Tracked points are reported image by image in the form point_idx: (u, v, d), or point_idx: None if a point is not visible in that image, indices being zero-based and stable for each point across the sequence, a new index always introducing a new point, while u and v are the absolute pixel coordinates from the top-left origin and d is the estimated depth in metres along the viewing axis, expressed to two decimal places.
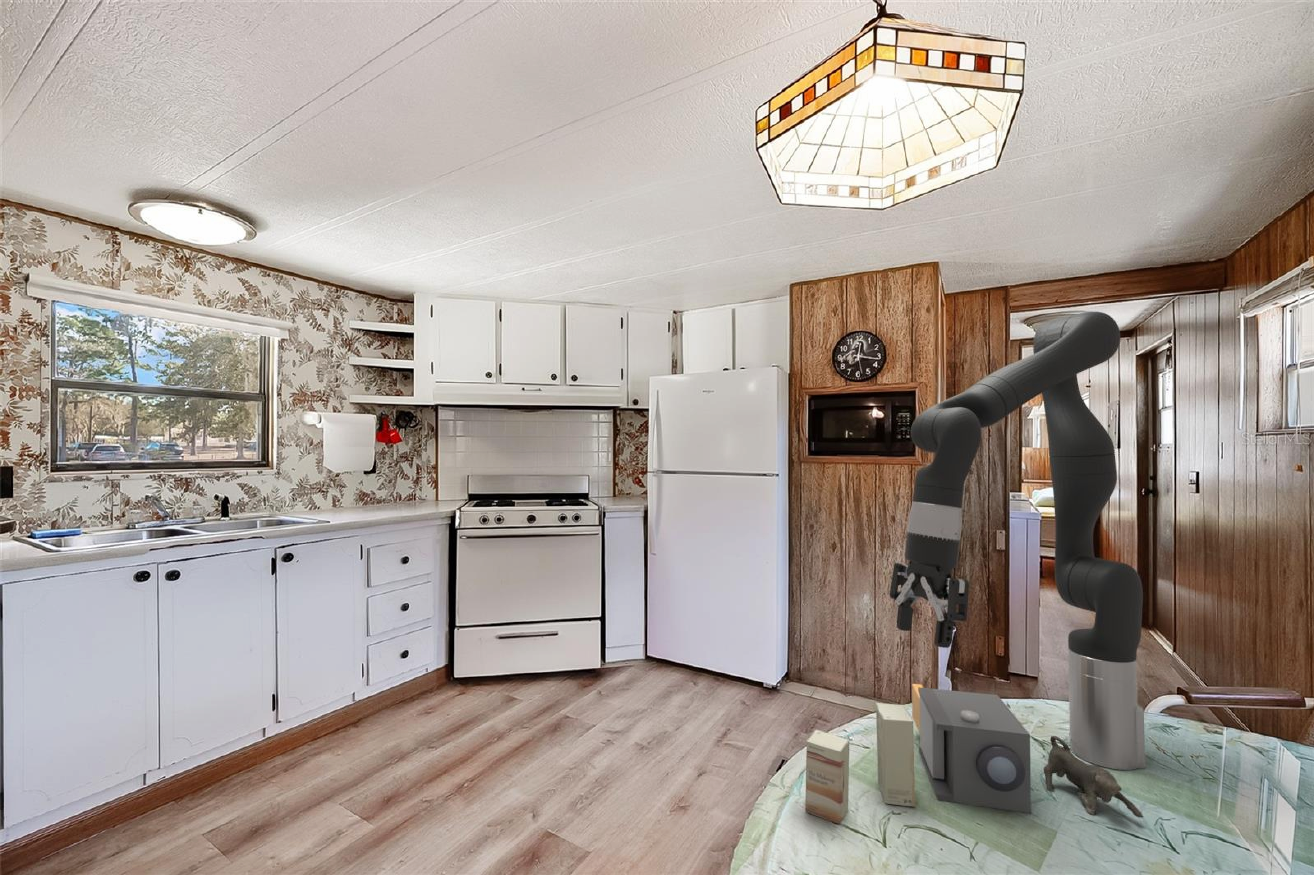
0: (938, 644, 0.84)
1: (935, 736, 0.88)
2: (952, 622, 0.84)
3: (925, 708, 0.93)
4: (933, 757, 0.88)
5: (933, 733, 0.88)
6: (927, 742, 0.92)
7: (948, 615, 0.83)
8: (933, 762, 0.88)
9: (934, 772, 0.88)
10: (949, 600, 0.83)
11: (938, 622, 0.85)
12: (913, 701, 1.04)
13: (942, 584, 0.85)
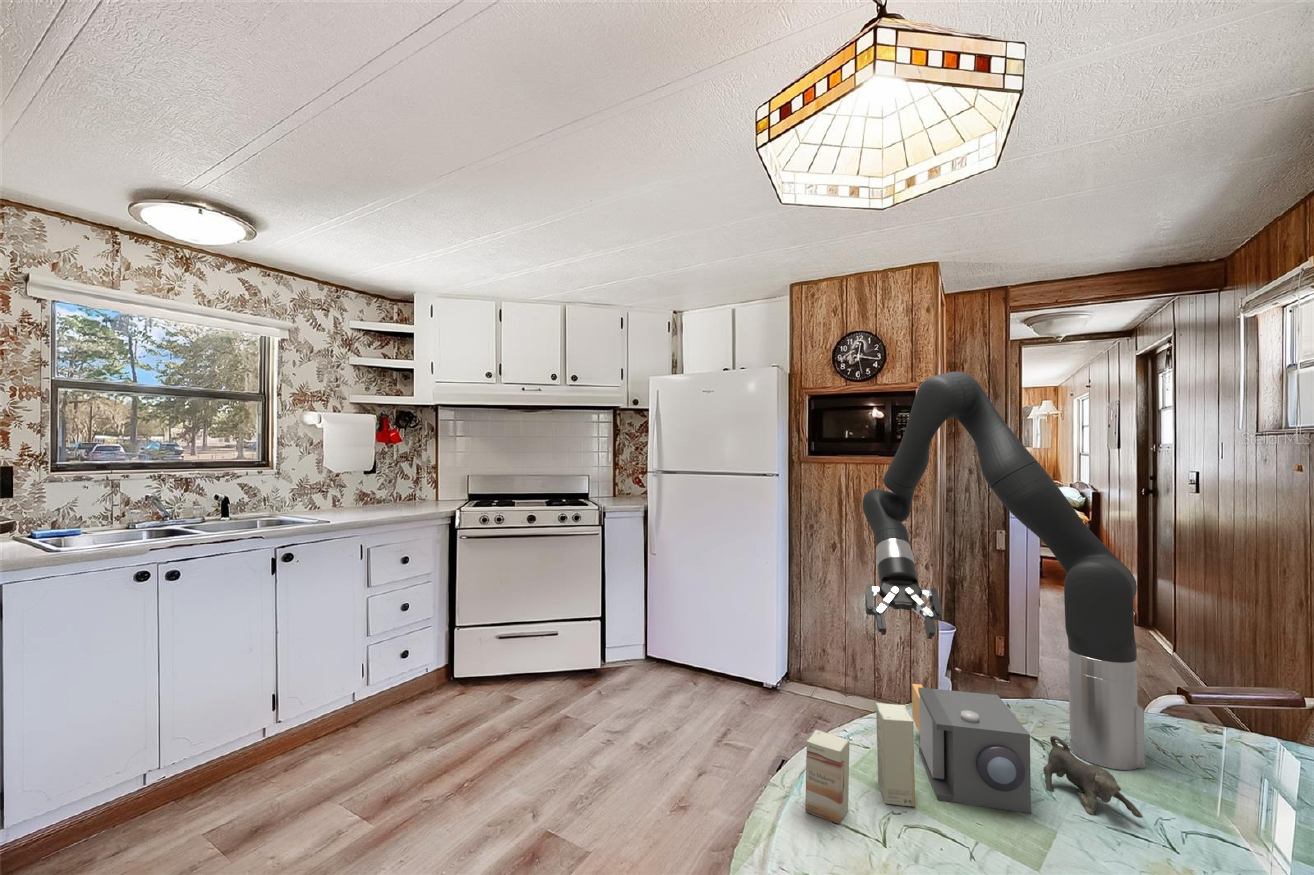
0: (881, 633, 1.14)
1: (935, 736, 0.88)
2: (875, 614, 1.16)
3: (925, 708, 0.93)
4: (933, 757, 0.88)
5: (933, 733, 0.88)
6: (927, 742, 0.92)
7: None
8: (933, 762, 0.88)
9: (934, 772, 0.88)
10: None
11: None
12: (913, 701, 1.04)
13: None
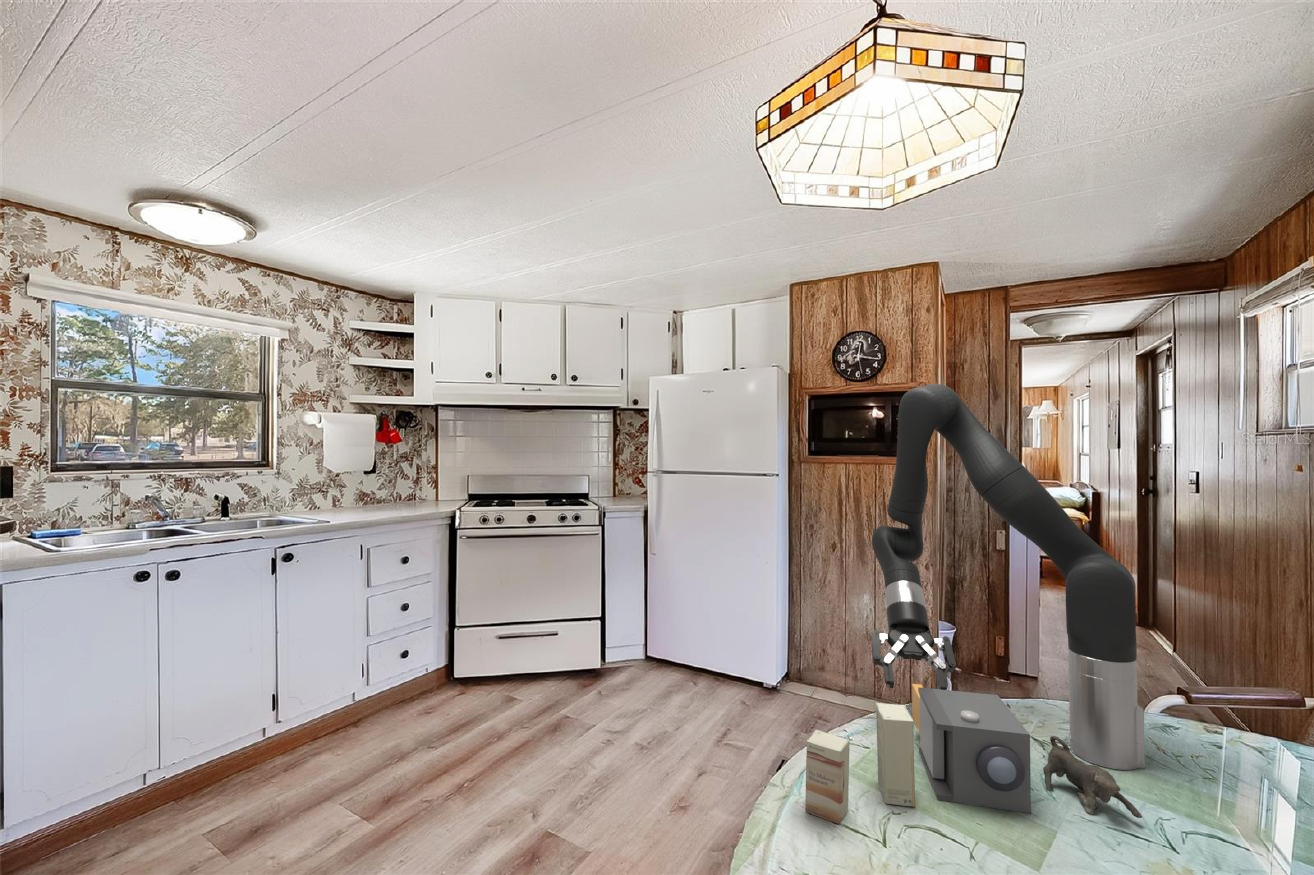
0: (889, 686, 1.06)
1: (935, 736, 0.88)
2: (882, 664, 1.08)
3: (925, 708, 0.93)
4: (933, 757, 0.88)
5: (933, 733, 0.88)
6: (927, 742, 0.92)
7: None
8: (933, 762, 0.88)
9: (934, 772, 0.88)
10: None
11: None
12: (913, 701, 1.04)
13: (888, 642, 1.12)
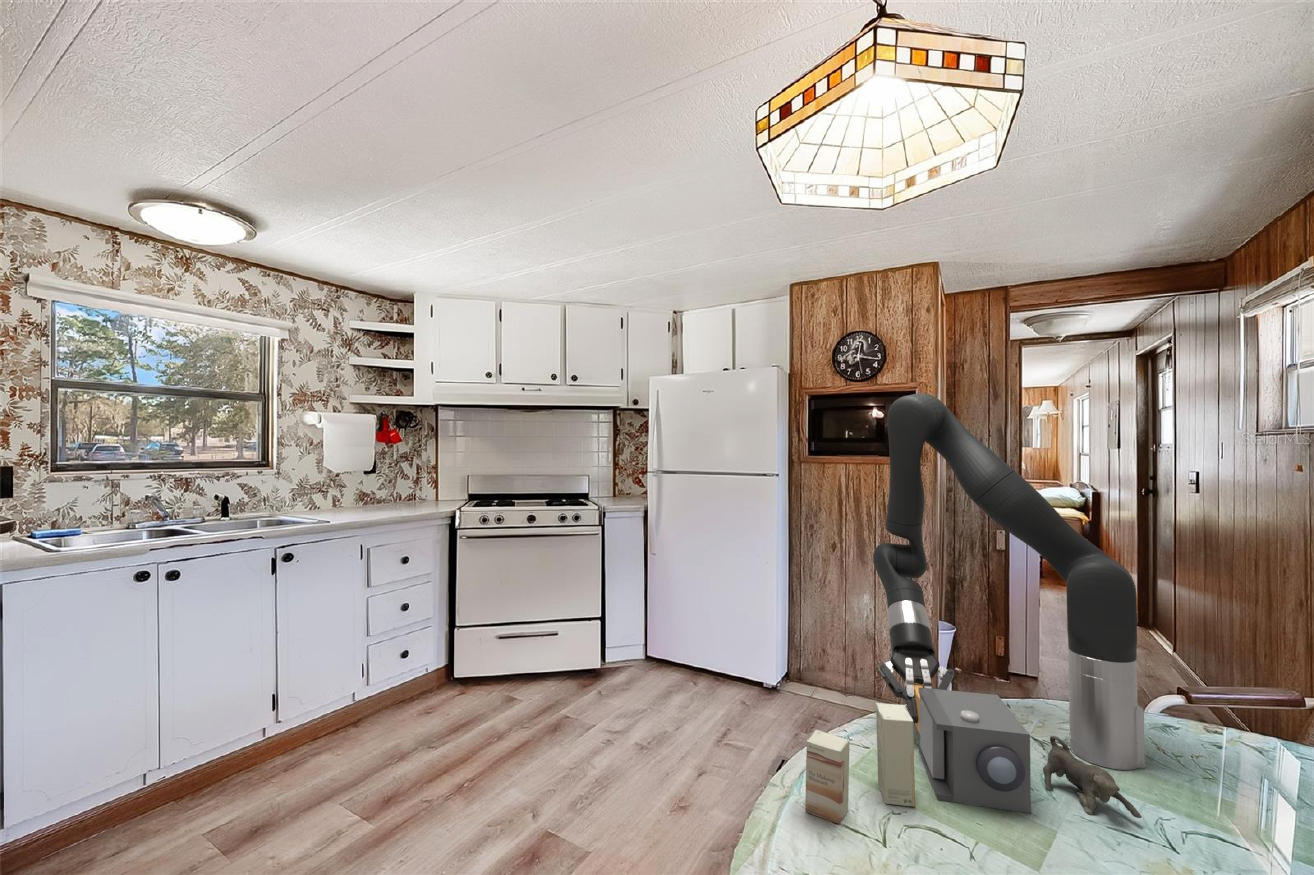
0: None
1: (935, 736, 0.88)
2: (905, 697, 1.03)
3: (925, 708, 0.93)
4: (933, 757, 0.88)
5: (933, 733, 0.88)
6: (927, 742, 0.92)
7: None
8: (933, 762, 0.88)
9: (934, 772, 0.88)
10: None
11: None
12: None
13: None
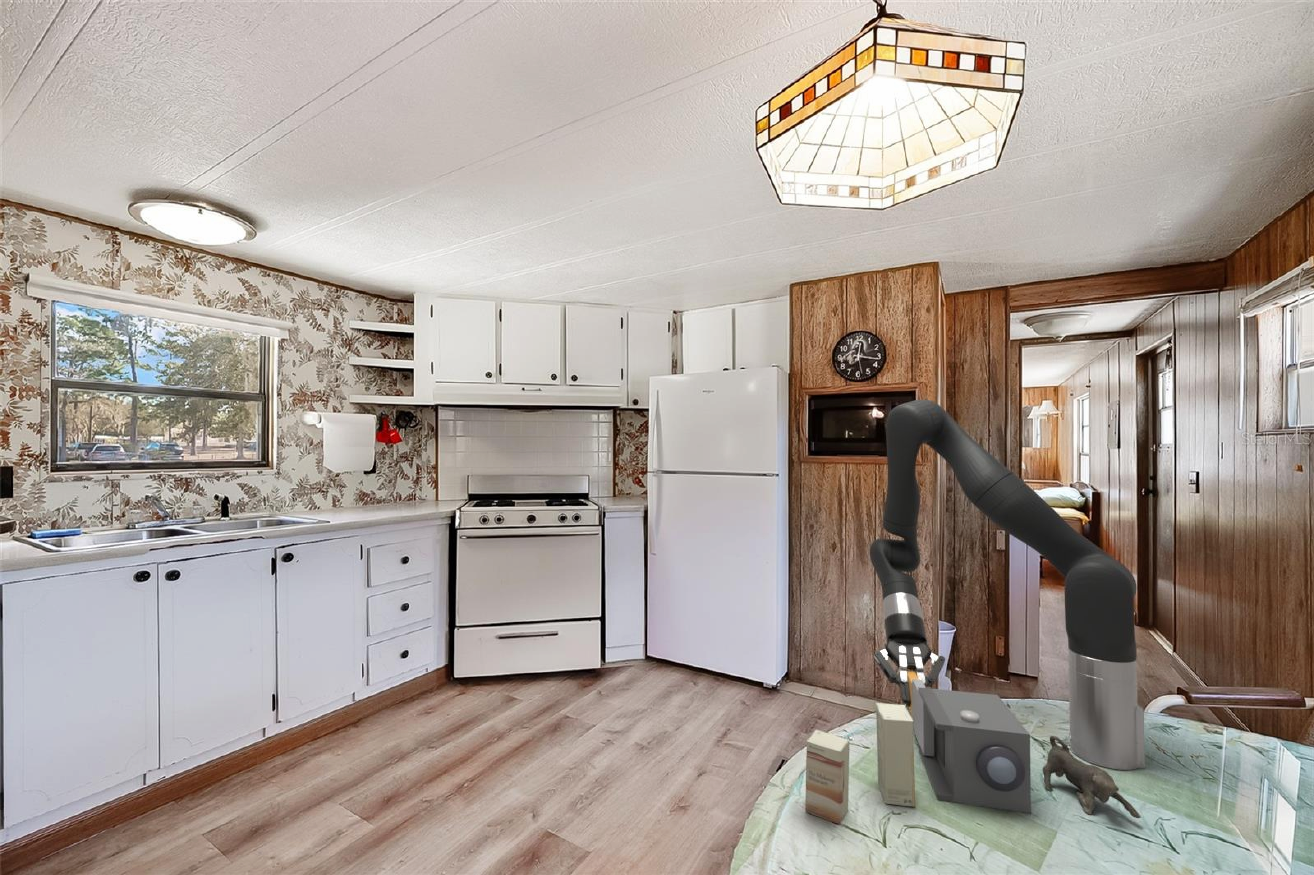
0: (906, 705, 1.07)
1: (926, 716, 0.95)
2: (899, 683, 1.09)
3: (917, 691, 1.00)
4: (924, 736, 0.95)
5: (924, 714, 0.95)
6: (919, 723, 0.99)
7: None
8: (924, 740, 0.95)
9: (925, 750, 0.95)
10: None
11: None
12: None
13: None
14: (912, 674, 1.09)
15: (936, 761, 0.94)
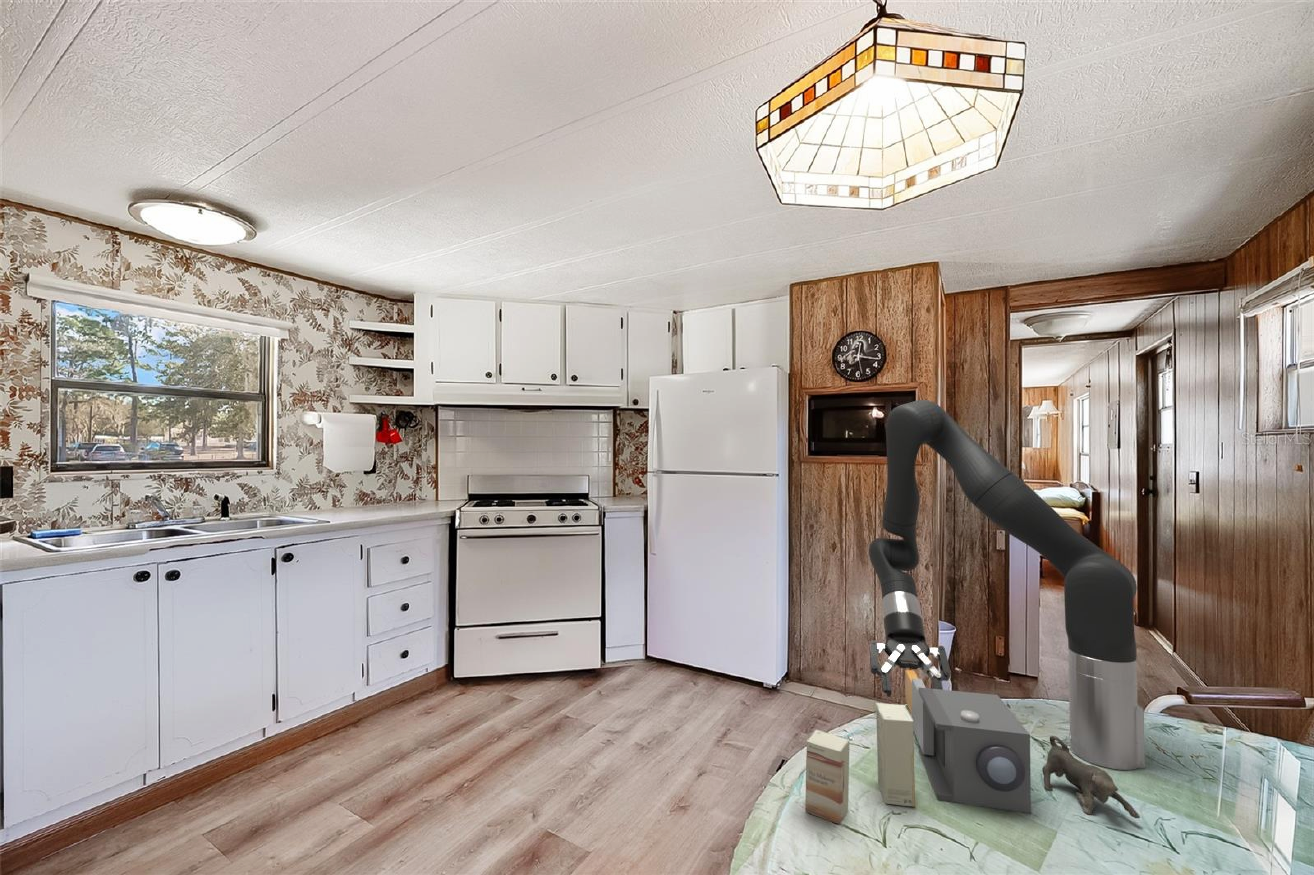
0: (886, 695, 1.10)
1: (925, 715, 0.95)
2: (879, 673, 1.12)
3: (916, 691, 1.00)
4: (923, 735, 0.95)
5: (923, 713, 0.95)
6: (918, 722, 0.99)
7: None
8: (923, 740, 0.95)
9: (924, 749, 0.95)
10: None
11: None
12: (906, 686, 1.11)
13: None
14: (911, 674, 1.09)
15: (936, 761, 0.94)
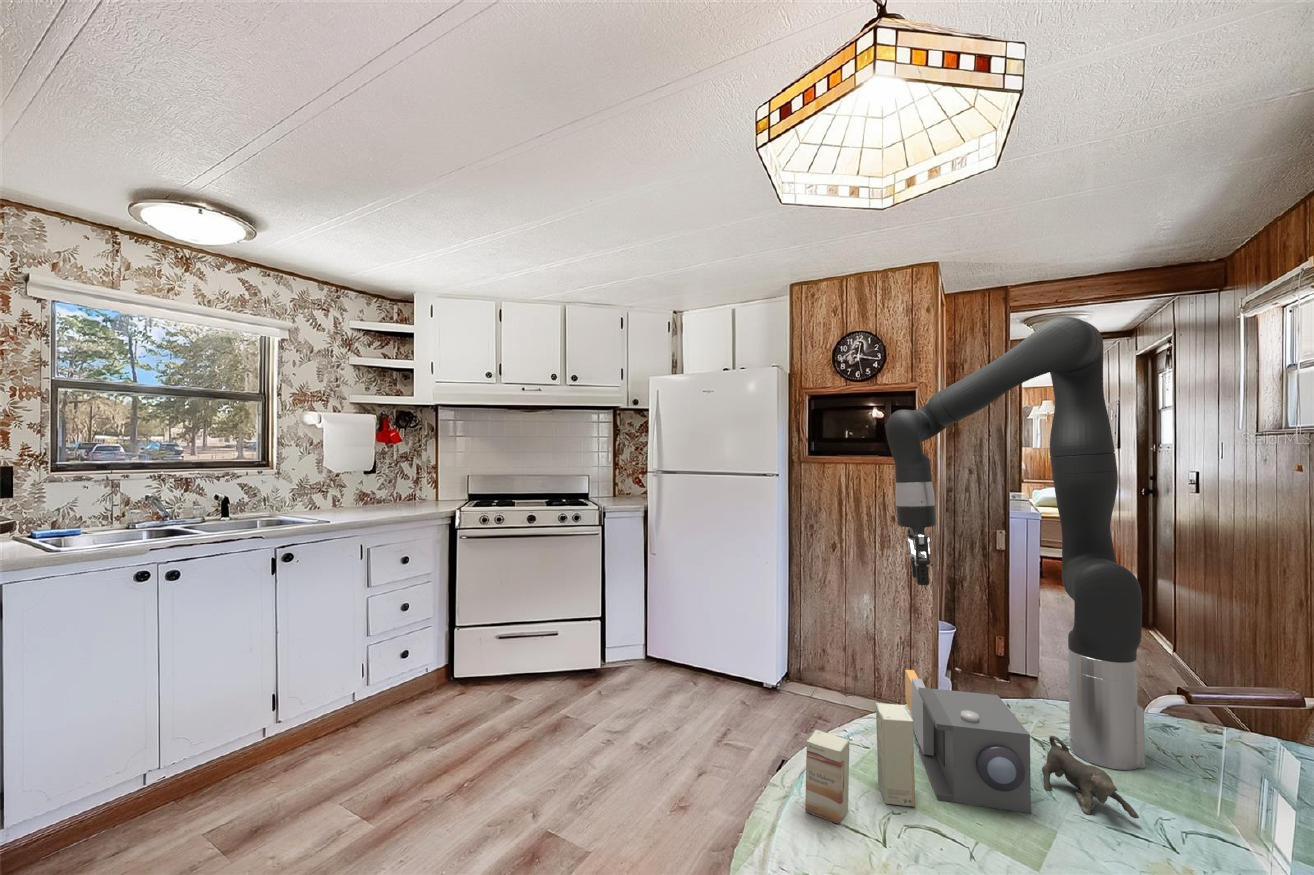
0: (918, 583, 1.16)
1: (925, 715, 0.95)
2: (923, 566, 1.15)
3: (916, 691, 1.00)
4: (923, 735, 0.95)
5: (923, 713, 0.95)
6: (918, 722, 0.99)
7: (915, 561, 1.15)
8: (923, 740, 0.95)
9: (924, 749, 0.95)
10: (915, 550, 1.15)
11: (916, 567, 1.17)
12: (906, 686, 1.11)
13: None
14: (911, 674, 1.09)
15: (936, 761, 0.94)
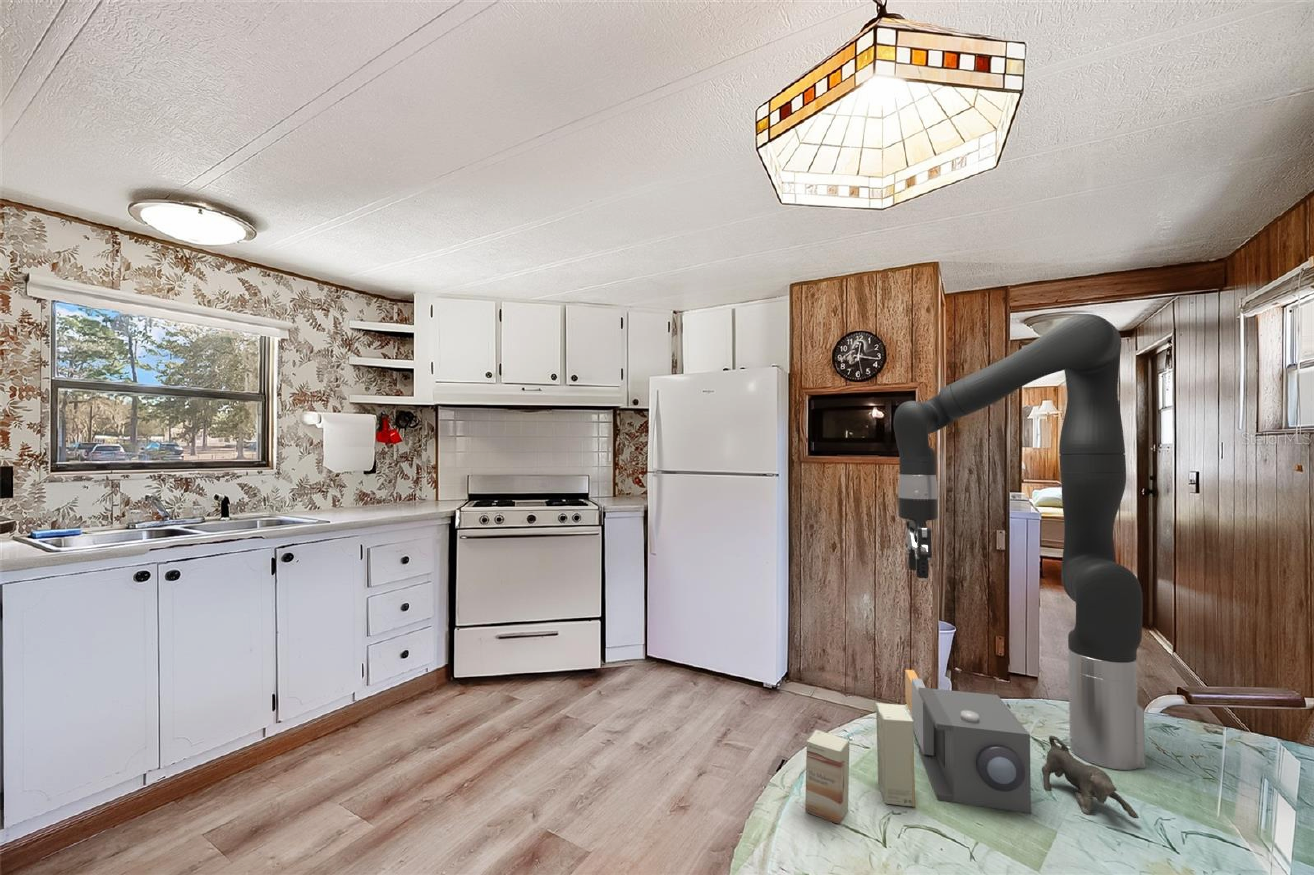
0: (917, 576, 1.16)
1: (925, 715, 0.95)
2: (924, 559, 1.15)
3: (916, 691, 1.00)
4: (923, 735, 0.95)
5: (923, 713, 0.95)
6: (918, 722, 0.99)
7: (917, 554, 1.14)
8: (923, 740, 0.95)
9: (924, 749, 0.95)
10: (917, 543, 1.15)
11: (916, 560, 1.16)
12: (906, 686, 1.11)
13: (917, 532, 1.17)
14: (911, 674, 1.09)
15: (936, 761, 0.94)
